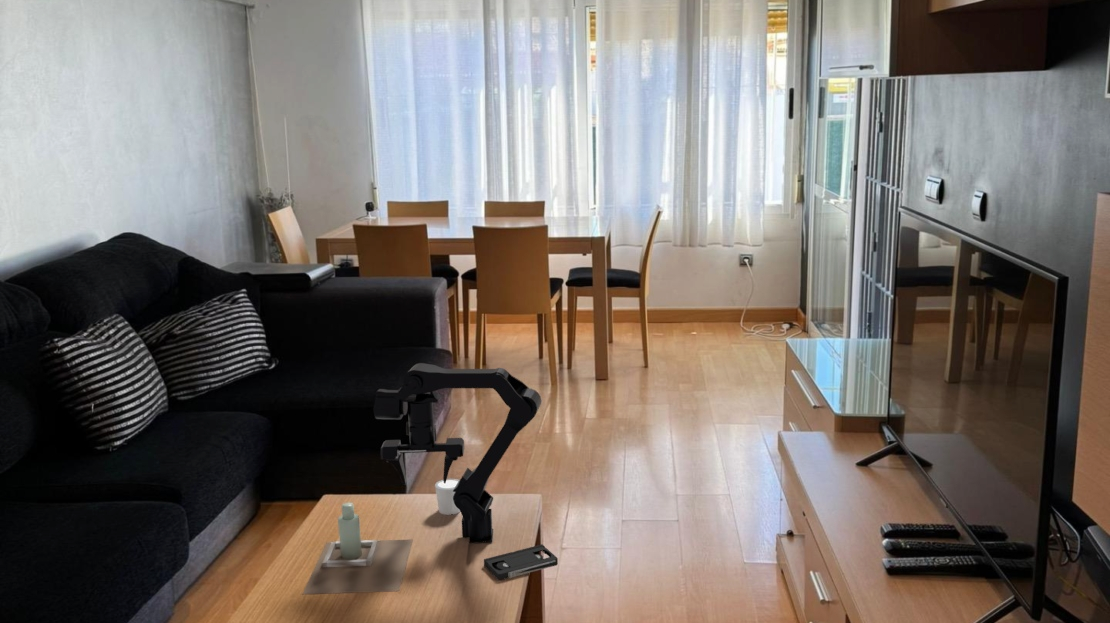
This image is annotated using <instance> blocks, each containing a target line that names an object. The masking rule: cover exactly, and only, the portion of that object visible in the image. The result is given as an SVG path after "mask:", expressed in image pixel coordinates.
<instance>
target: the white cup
mask: <svg viewBox="0 0 1110 623" xmlns="http://www.w3.org/2000/svg"><path fill="white" fill-rule="evenodd" d="M459 480H460V479H457V478H456V479H455V478H447V480H446V483H444V480H443V479H442V480H439V481H436V483H435V484H434V488H435V494H436V500H437V508H438V512H439V514H441V515H446V516H447V515H448V516H450V515H451V514H453V515H456V514H459V513H461V512H460V509H458V508H457V507H456V505H455V504H454V501H453V496H454V494H455V492H453V490H454V488H455V486H456V485H457V483H458V482H459Z"/></svg>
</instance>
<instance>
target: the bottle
mask: <svg viewBox="0 0 1110 623" xmlns="http://www.w3.org/2000/svg"><path fill="white" fill-rule="evenodd" d="M354 507H355V506H354V503H352V502H344V503H343V504H341V515H340V516H339V517H337V523H338V536H339V537H338V538H339V541H340V551H341V558H342V559H344V560H354V559H357V558H359V557H361V555H362V549H361V541H362V539H361V525H360V515H359V514H357V513H355V508H354Z"/></svg>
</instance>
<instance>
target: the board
mask: <svg viewBox="0 0 1110 623" xmlns="http://www.w3.org/2000/svg"><path fill="white" fill-rule="evenodd" d="M413 542H414V539H413V538H412V539H386V540H385V539H384V540H378V539H369V540H365V539H364V540H361V549H362V555H361V557H359V558H357V559H354V560H344V559H342V558H341V551H340V540H339V541H338V540H337V541H336V540H335V541H331V542H329V541H326V543H325V544H324V546H323V549H322V550H321V552H320V555H319V557H318V559H317V562H316V563H315V566H314V568H313V570H312V572H311V574H310V577H309V578H308V581H307V583H306V585H305V587H304V589H303V591H302V594H301V595H303V596H304V595H305V596H306V595H329V594H330V595H332V594H333V595H334V594H353V593H354V594H355V593H380V592H382V593H384V592H388V593H389V592H400V590H401V589H400V588H401V586H402V581H403V578H404V576H405V571H406V567H407V565H408V561H409V556H410V553H411V549H412V545H413Z"/></svg>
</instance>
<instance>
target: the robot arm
mask: <svg viewBox="0 0 1110 623" xmlns="http://www.w3.org/2000/svg"><path fill="white" fill-rule="evenodd" d="M402 382H403V384H402V386H401V387H400V388H399V389H386V388H379V389H378V390H377V391H375V399H374V406H373V408H372V409H373V411H372V412H373V416H374V418H375V419H376V420H402V419H403V417H404V416H406V415H407V416H408V421H406V423H405V424H406V426H405V434H406V436H409V444H408V443H407V444H404V443H403V444H402V442H401V439H387V440H386V439H385V441H383V443H382V445H381V447H380V460H383V461H385V460H386V463H388V464H389V463H390V464H391V465H392V466H393V467H394V469H395V471H396V472H397V475H398V476H399V478H400V480H401V482H402V484H403V486H405V485H407V475H406V469H405V462H404V454H413V453H435V452H436V453H437V452H438V453H441V452H442V453H443V452H445V456H444V460H443V461H444V464H443V477H442V480H444V483H446V480H447V479H448V476H449V472H450V469H451V466H452V464H453V462H455V461H458V458H462V457H463V456H464V453H465V440H464V439H463V437H447V438H446V441H445V442H444V443H443V442H440V443H439V442H437V440H438V439H437V425H436V424H435V423H434V421H435V420H434V418H435V417H434V404H435V403H438V402H439V401H440V400H441V399H442V395H441V394H439V392H437V391H438V390H445V389H493V391H495V392H496V393H497V394H498V395H499V397H500V398H501V400H502V401H503V402H504V403H505V405H506V406H507V407H508V408H509V410H508V414H507V416H506V419H505V422H504V424H503V426H502V427H501V429H500V430H499V432H498V433H497V435H496V437H495V438H494V439H493V442H492V443H491V444H490V446H489V447H488V449H487V450H486V452H485V453H484V455H483V457H482V458H481V460H480V461H479V463H478V465H477V466H476V467H475V468H474V469H473V470H471V469H470V468H469V467H467V468H466V469H465V471H464V473H463V475H462V476H461V478H460V479H458V480H459V482H458V483H457V485H456V486H455V488H454V490H453V492H455V494H454V496H453V501H454V504H455V505H456V507H457V508H458V509H460V512H459V513H461V516H462V517H461V534H462V538H464V539H467V538H469V540H468V544H478V543H479V544H481V543H492V542H493V537H494V528H493V518H492V517H493V516H492V515H493V513H492V508H490V507H491V506H492V503H493V500H494V497H493V496H492V495H491V494H490V493H489V492H488V491H487V490H486V487H487V485H488V482H489V478H490V477H491V475H492V474H493V472H494V470H495V469H496V467H497V466H498V465H499V462H500V461H501V460H502V458H503V457H504V455H505V453H506V452H507V450H508V449H509V447H510V446H511V444H512V443H513V441H514V439H515V438H516V437H517V434H519V432H521V431H522V430H523V429H524V428H525V427H526V426H527V425H528V424H529V423H530V422H531V421H532V420H533V419H534V417H535V416H536V415H537V413H538V411H539V408H540V407H541V405H542V398H541V395H540V393H539V392H538V391H537V390H535V389H533V388H529V387H528V385H526V383H524V382H523V381H522V380H520V379H519V378H516V377H515V376H514V375H512V374H511V373H510V372H509V371H507V370H506V369H505V368H503V367H497V368H445V367H441V366H439V365H435V364H431V363H430V364H429V363H424V362H419V363H416V364H414V365H413V366H412V367H411V368H410V369H409V370H408V371H407V372H406V373H405V374H404V376H403V380H402ZM436 442H437V443H436Z"/></svg>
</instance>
